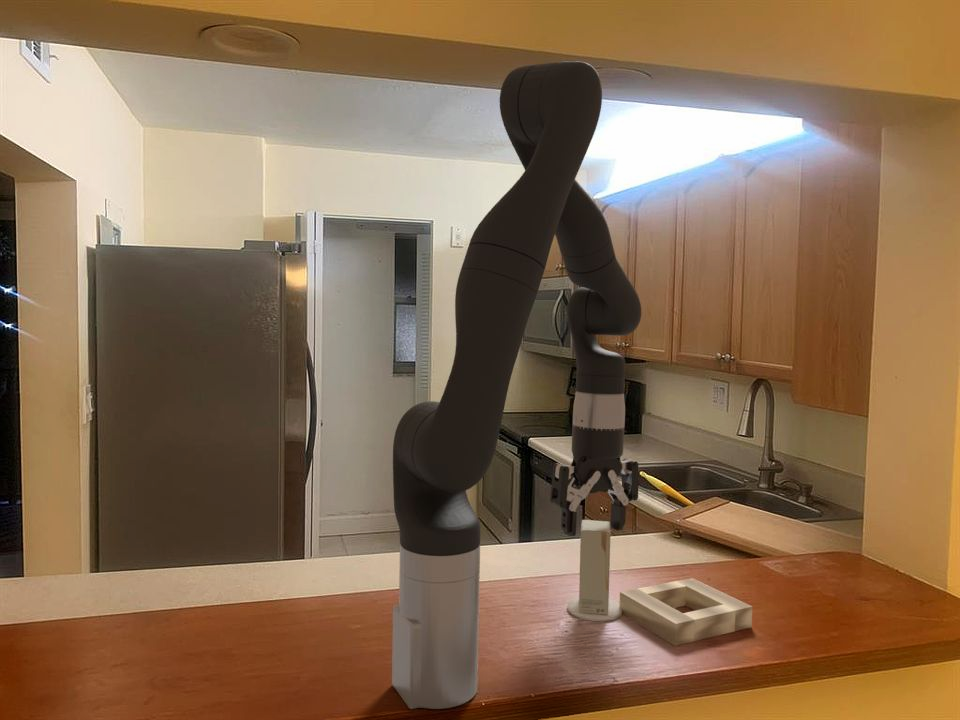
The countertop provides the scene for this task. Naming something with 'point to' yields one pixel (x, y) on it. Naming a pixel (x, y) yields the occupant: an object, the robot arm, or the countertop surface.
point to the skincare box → (594, 567)
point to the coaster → (612, 614)
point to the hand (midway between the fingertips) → (593, 531)
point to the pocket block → (707, 620)
